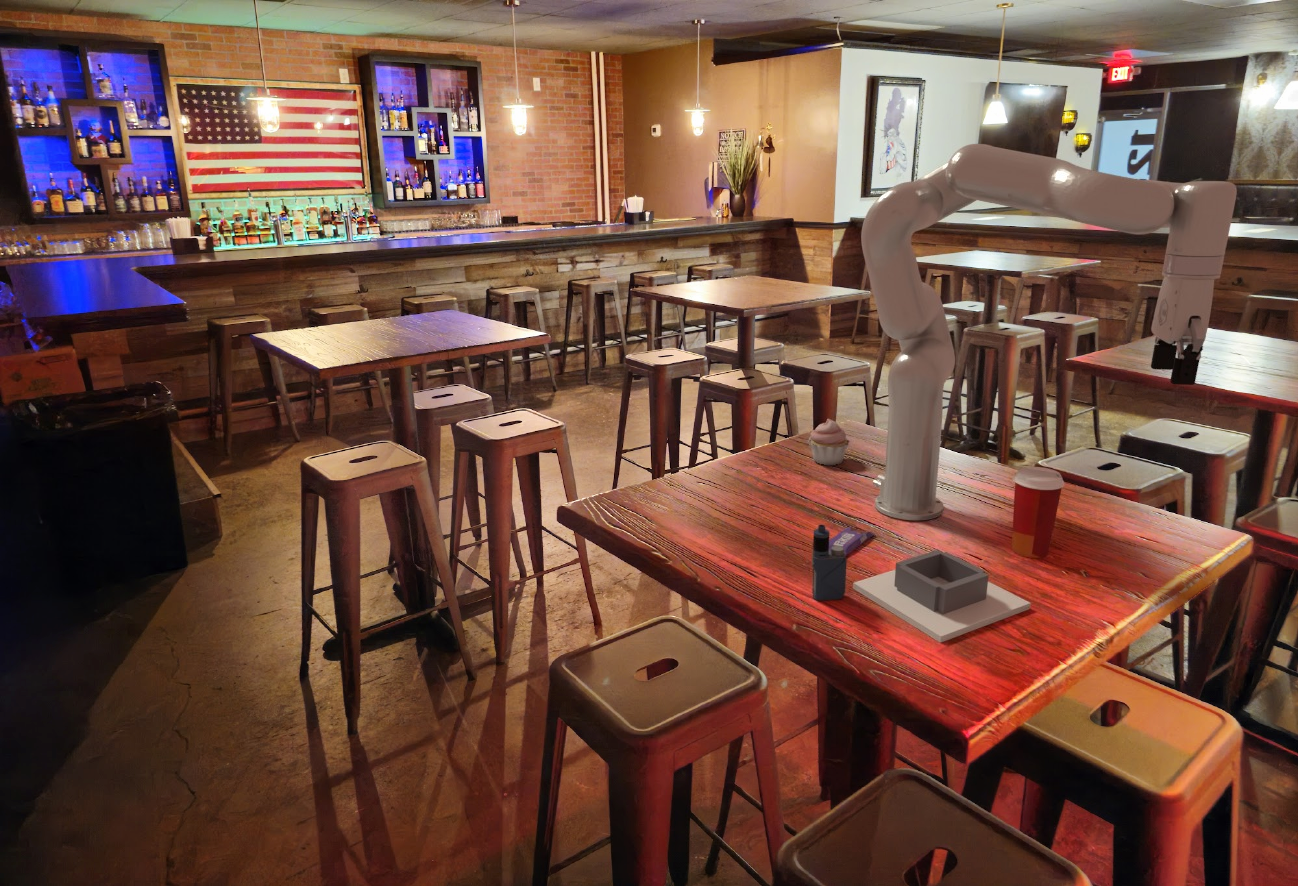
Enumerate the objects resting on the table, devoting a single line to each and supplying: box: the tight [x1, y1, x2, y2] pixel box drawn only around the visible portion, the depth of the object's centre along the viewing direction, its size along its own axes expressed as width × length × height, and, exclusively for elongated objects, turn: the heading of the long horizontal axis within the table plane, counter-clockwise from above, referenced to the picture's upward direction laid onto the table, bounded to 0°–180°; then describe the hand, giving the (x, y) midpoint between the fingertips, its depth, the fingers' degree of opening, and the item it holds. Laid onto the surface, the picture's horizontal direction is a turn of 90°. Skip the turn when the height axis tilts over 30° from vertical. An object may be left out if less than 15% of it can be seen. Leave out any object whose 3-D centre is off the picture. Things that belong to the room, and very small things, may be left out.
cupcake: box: [806, 418, 850, 466], centre depth 183 cm, size 9×9×10 cm
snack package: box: [829, 526, 876, 557], centre depth 144 cm, size 12×2×5 cm
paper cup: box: [1011, 466, 1066, 559], centre depth 137 cm, size 8×8×14 cm
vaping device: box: [811, 524, 848, 602], centre depth 125 cm, size 3×5×12 cm, turn 95°
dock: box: [852, 549, 1031, 644], centre depth 125 cm, size 18×18×5 cm
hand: (1171, 376), depth 130 cm, fingers open, 9 cm apart
